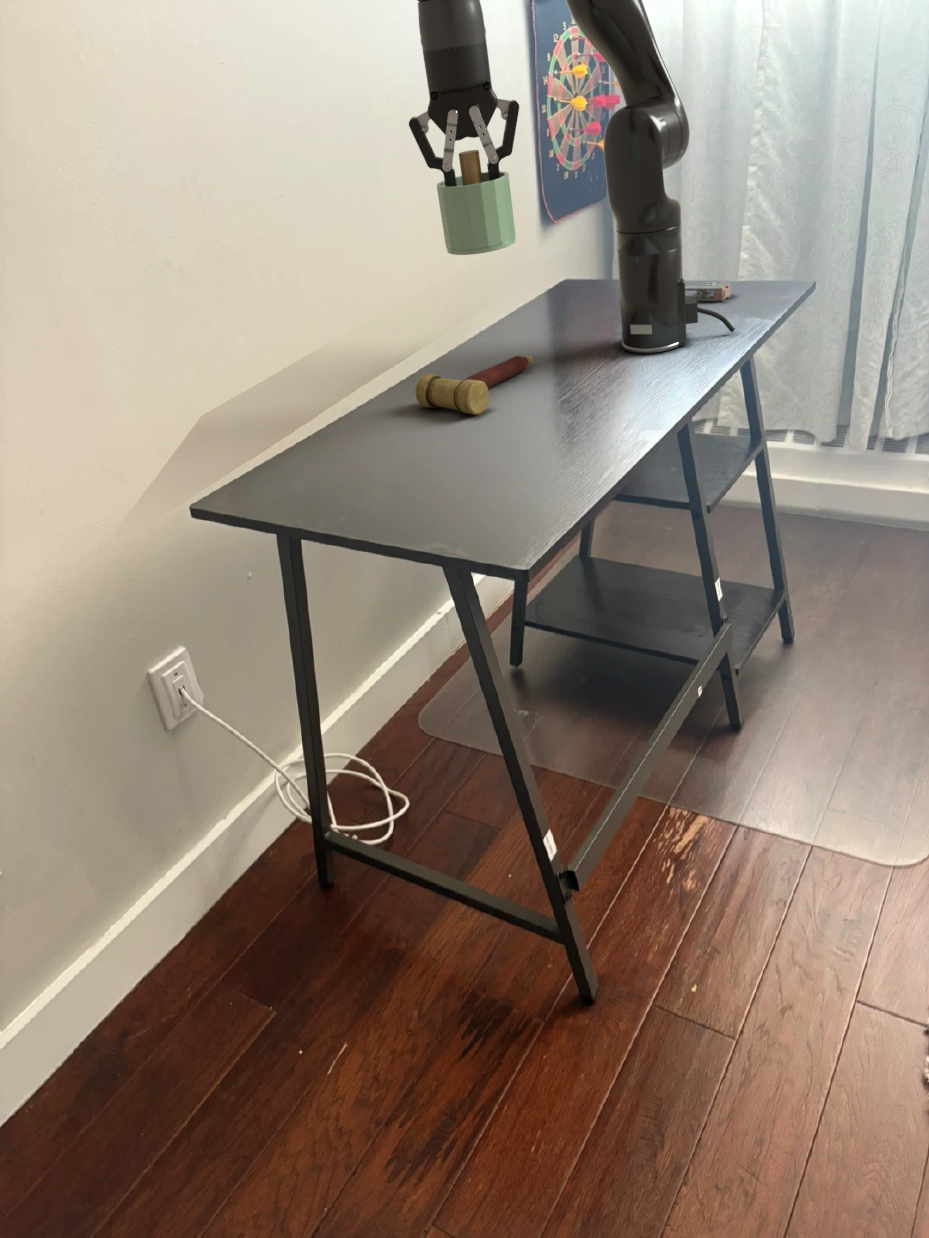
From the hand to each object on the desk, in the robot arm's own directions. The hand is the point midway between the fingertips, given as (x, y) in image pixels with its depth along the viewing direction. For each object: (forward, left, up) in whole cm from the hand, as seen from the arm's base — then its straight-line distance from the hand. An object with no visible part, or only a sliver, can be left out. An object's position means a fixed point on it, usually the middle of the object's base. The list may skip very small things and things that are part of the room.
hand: (475, 198), depth 121 cm
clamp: (-31, -39, -27) cm, 57 cm away
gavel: (+2, -6, -27) cm, 28 cm away
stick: (0, 0, -5) cm, 5 cm away
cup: (0, 0, -6) cm, 6 cm away
